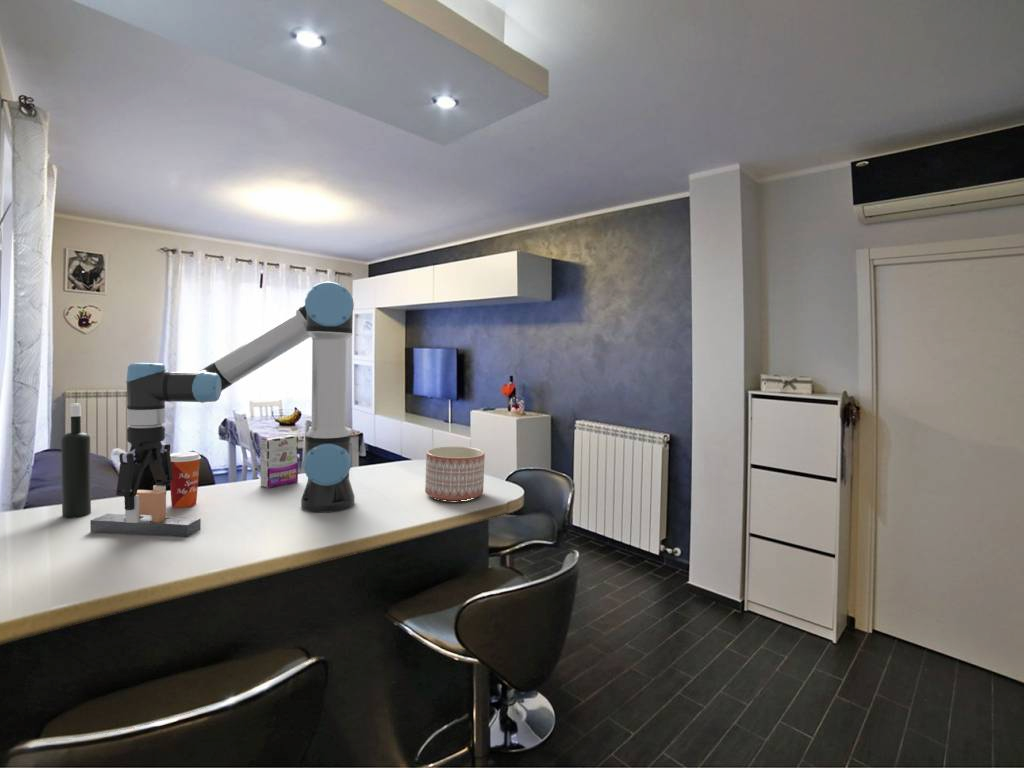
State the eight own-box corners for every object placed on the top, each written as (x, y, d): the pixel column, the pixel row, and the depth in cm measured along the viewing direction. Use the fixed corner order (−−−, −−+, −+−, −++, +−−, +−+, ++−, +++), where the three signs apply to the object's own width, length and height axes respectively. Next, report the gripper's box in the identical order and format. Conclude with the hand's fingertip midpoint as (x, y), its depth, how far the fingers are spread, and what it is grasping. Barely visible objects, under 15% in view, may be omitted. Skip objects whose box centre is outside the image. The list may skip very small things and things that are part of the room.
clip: (165, 530, 124) (165, 491, 124) (158, 533, 122) (158, 493, 121) (133, 528, 125) (133, 489, 124) (125, 532, 122) (125, 492, 122)
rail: (200, 529, 126) (200, 518, 125) (187, 537, 121) (187, 524, 120) (107, 525, 126) (107, 513, 126) (90, 532, 121) (90, 520, 121)
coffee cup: (184, 510, 139) (184, 457, 139) (159, 507, 141) (159, 455, 140) (207, 502, 148) (208, 452, 147) (184, 499, 149) (184, 450, 148)
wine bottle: (92, 515, 133) (91, 403, 131) (63, 519, 129) (62, 404, 127) (89, 509, 137) (88, 401, 135) (61, 514, 133) (59, 402, 131)
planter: (494, 494, 168) (496, 451, 167) (458, 508, 152) (460, 460, 151) (450, 484, 178) (451, 444, 177) (412, 496, 162) (414, 451, 161)
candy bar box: (289, 479, 176) (290, 434, 175) (298, 482, 173) (299, 435, 172) (259, 486, 167) (259, 437, 166) (267, 488, 164) (268, 439, 163)
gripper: (162, 419, 132) (162, 503, 134) (94, 431, 111) (95, 530, 113) (189, 420, 132) (189, 504, 133) (127, 432, 111) (127, 531, 113)
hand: (146, 516), depth 123 cm, fingers open, 8 cm apart
